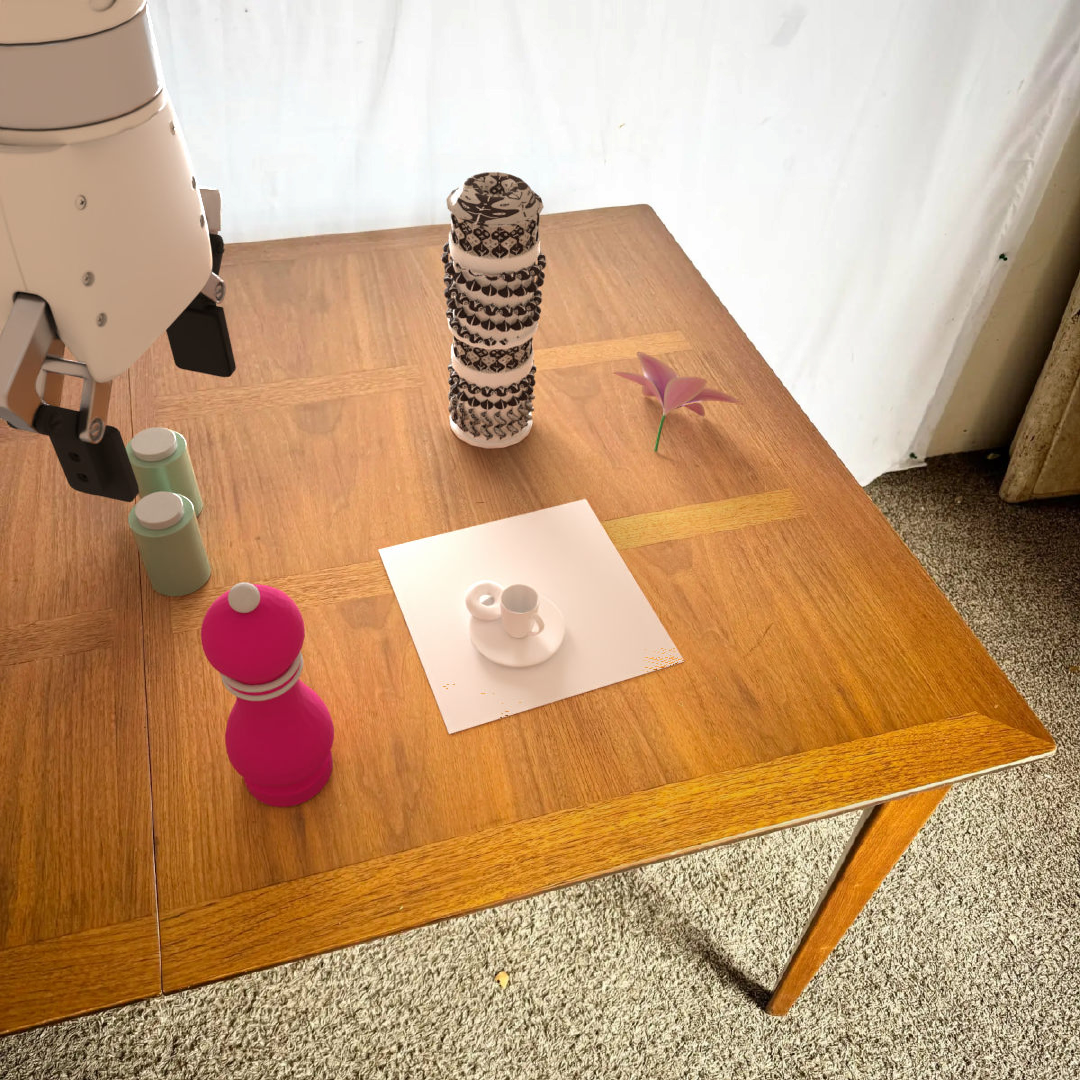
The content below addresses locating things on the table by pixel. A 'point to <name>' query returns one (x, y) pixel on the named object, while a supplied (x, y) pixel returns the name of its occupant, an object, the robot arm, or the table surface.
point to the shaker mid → (170, 543)
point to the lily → (673, 388)
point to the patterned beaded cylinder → (493, 307)
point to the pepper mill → (268, 695)
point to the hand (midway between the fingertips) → (159, 427)
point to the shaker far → (163, 465)
